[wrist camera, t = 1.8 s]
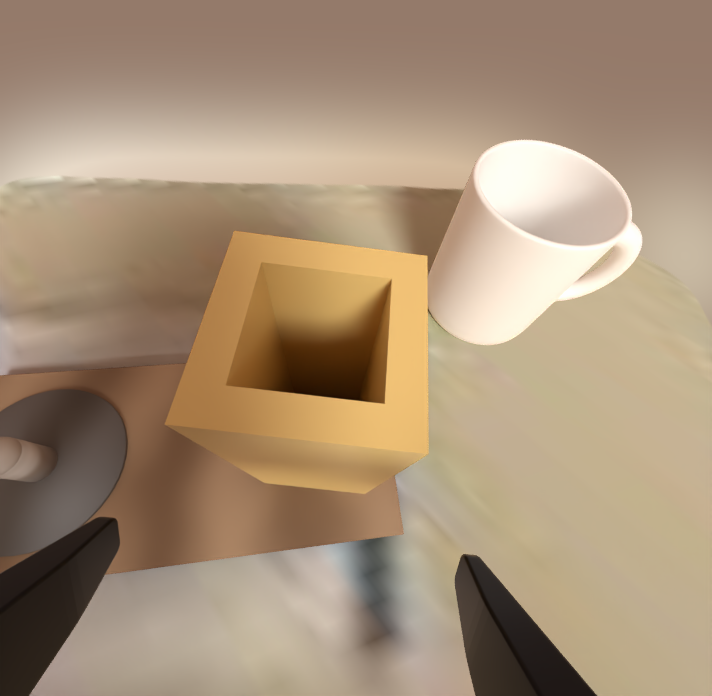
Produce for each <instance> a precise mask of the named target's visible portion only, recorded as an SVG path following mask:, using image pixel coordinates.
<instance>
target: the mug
mask: <svg viewBox="0 0 712 696" xmlns="http://www.w3.org/2000/svg"><path fill="white" fill-rule="evenodd" d="M631 219H632V209H631V204H630V201H629V198H628V196H627V194H626V193H625V191H624V189H623V188H622V186H621V185H620V184H619V183H618V181H617V180H616V179H615V178H614V177H613V176H612V175H611V174H610V173H609V172H608V171H607V170H605V169H604V168H603V167H602V166H600V165H599V164H597V163H596V162H594V161H593V160H591V159H589V158H588V157H586V156H584V155H582V154H580V153H578V152H576V151H574V150H571V149H569V148H566V147H563V146H560V145H557V144H553V143H549V142H544V141H537V140H512V141H506V142H502V143H499V144H496V145H494V146H492V147H490V148H489V149H487V150H486V151H485V152H484V153H483V154H482V155H481V156H480V157H479V158H478V159H477V161H476V163H475V165H474V167H473V170H472V173H471V175H470V177H469V180H468V182H467V184H466V186H465V189H464V191H463V194H462V196H461V198H460V201H459V203H458V205H457V208H456V210H455V213H454V215H453V217H452V220H451V222H450V224H449V227H448V229H447V231H446V234H445V236H444V239H443V241H442V243H441V246H440V248H439V250H438V253H437V255H436V258H435V260H434V262H433V265H432V267H431V269H430V272H429V274H428V308H429V311H430V313H431V314H432V316H433V318H434V319H435V320H436V322H437V323H438V324H439V325H440V326H441V327H442V328H443V329H445V330H446V331H447V332H448V333H450V334H451V335H453V336H455V337H457V338H458V339H461V340H463V341H466V342H469V343H473V344H478V345H495V344H500V343H503V342H506V341H508V340H510V339H512V338H514V337H516V336H517V335H518V334H520V333H521V332H522V331H524V330H525V329H526V328H527V327H528V326H529V325H530V324H531V323H532V322H533V321H534V320H535V319H537V318H538V317H539V316H540V315H541V314H542V313H543V312H544V311H545V310H546V309H547V308H548V307H549V306H550V305H551V304H552V303H553V302H554V301H563V300H569V299H573V298H577V297H581V296H583V295H586V294H589V293H591V292H593V291H596V290H598V289H599V288H601V287H603V286H605V285H607V284H608V283H610V282H611V281H613V280H614V279H616V278H617V277H618V276H620V275H621V274H622V273H623V272H624V271H626V270H627V269H628V268H629V267H630V265H631V264H632V263H633V262H634V261H635V259H636V258H637V256H638V254H639V252H640V249H641V247H642V235H641V232H640V230H639V229H638V227H637V226H636V225H635V224H634V223H633V222H631ZM612 246H613V251H612V252H611V254H610V255H609V256H608V258H607V259H606V260H605V261H604V262H603V263H602V264H601V265H599V266H598V267H597V268H595V269H594V270H592V271H591V272H589V273H587V274H586V275H584V276H582V275H583V274H584V273H585V272H586V271H587V270H588V269H589V268H590V267H591V266H592V265H593V264H595V263H596V262H597V261H598V260H599V259H600V258H601V257H602V256H603V255H604V254H605V253H606V252H607V251H608V250H609V249H610V248H611V247H612Z"/></svg>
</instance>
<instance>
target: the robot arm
mask: <svg viewBox="0 0 712 696" xmlns="http://www.w3.org/2000/svg"><path fill="white" fill-rule="evenodd" d="M119 546H120V536H119V527H118V521H117V519H116V518H112V517H97V518H95V519H93V520H92V521H90V522H88V523H86V524H85V525H83V526H81V527H79V528H78V529H76V530H74V531H72V532H71V533H69V534H67V535H66V536H64V537H62V538H60V539H59V540H57V541H55V542H53V543H52V544H50V545H48V546H46V547H45V548H43V549H41V550H40V551H38V552H36V553H34V554H33V555H31V556H29V557H27V558H26V559H24V560H22V561H20V562H19V563H17V564H15V565H14V566H12V567H10V568H8V569H7V570H5V571H3V572H1V573H0V696H29V695H30V693H31V692H32V690H33V689H34V687H35V686H36V684H37V683H38V681H39V680H40V678H41V677H42V675H43V674H44V672H45V671H46V669H47V668H48V666H49V665H50V663H51V662H52V660H53V659H54V657H55V656H56V654H57V653H58V651H59V650H60V648H61V647H62V645H63V644H64V642H65V641H66V639H67V638H68V636H69V635H70V633H71V632H72V630H73V629H74V627H75V626H76V624H77V623H78V621H79V619H80V618H81V616H82V614H83V613H84V611H85V609H86V608H87V606H88V604H89V602H90V600H91V599H92V597H93V595H94V593H95V591H96V590H97V588H98V586H99V584H100V582H101V581H102V579H103V577H104V575H105V573H106V572H107V570H108V568H109V566H110V565H111V563H112V561H113V559H114V557H115V556H116V554H117V552H118V549H119ZM455 589H456V595H457V602H458V608H459V615H460V621H461V628H462V634H463V640H464V647H465V652H466V658H467V662H468V667H469V671H470V675H471V679H472V683H473V687H474V691H475V695H476V696H597V695H596V694H595V693H594V691H593V690H592V689H591V688H590V687H589V686H588V684H587V683H586V682H585V681H584V680H583V678H582V677H581V676H580V675H579V674H578V673H577V671H576V670H575V669H574V668H573V667H572V666H571V664H570V663H569V662H568V661H567V660H566V658H565V657H564V656H563V655H562V654H561V653H560V651H559V650H558V649H557V648H556V647H555V645H554V644H553V643H552V642H551V641H550V640H549V638H548V637H547V636H546V635H545V634H544V633H543V631H542V630H541V629H540V628H539V627H538V625H537V624H536V623H535V622H534V621H533V620H532V618H531V617H530V616H529V615H528V614H527V612H526V611H525V610H524V609H523V608H522V607H521V605H520V604H519V603H518V602H517V601H516V600H515V598H514V597H513V596H512V595H511V594H510V592H509V591H508V590H507V589H506V588H505V587H504V585H503V584H502V583H501V582H500V581H499V579H498V578H497V577H496V576H495V575H494V574H493V572H492V571H491V570H490V569H489V568H488V567H487V565H486V564H485V563H484V562H483V561H482V559H481V558H480V557H478V556H476V555H468V554H463V555H462V556H461V558H460V562H459V565H458V568H457V572H456V575H455Z"/></svg>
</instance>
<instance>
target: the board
mask: <svg viewBox="0 0 712 696" xmlns="http://www.w3.org/2000/svg"><path fill="white" fill-rule="evenodd" d="M185 366H186V363H183V364H168V365H152V366H137V367H122V368H107V369H92V370H77V371H62V372H46V373H31V374H16V375H1V376H0V573H1V572H3V571H5V570H7V569H8V568H10V567H12V566H14V565H15V564H17V563H19V562H20V561H22V560H24V559H26V558H27V557H29V556H31V555H33V554H34V553H36V552H38V551H40V550H41V549H43V548H45V547H46V546H48V545H50V544H52V543H53V542H55V541H57V540H59V539H60V538H62V537H64V536H66V535H67V534H69V533H71V532H72V531H74V530H76V529H78V528H79V527H81V526H83V525H85V524H86V523H88V522H90V521H92V520H93V519H95V518H97V517H112V518H116V519H117V521H118V527H119V536H120V546H119V549H118V552H117V554H116V556H115V557H114V559H113V561H112V563H111V565H110V566H109V568H108V570H107V572H106V573H105V575H106V574H114V573H121V572H128V571H136V570H143V569H151V568H158V567H165V566H173V565H180V564H187V563H195V562H202V561H209V560H217V559H224V558H232V557H239V556H246V555H254V554H261V553H268V552H276V551H283V550H291V549H298V548H305V547H313V546H320V545H327V544H335V543H342V542H349V541H357V540H364V539H372V538H379V537H386V536H394V535H401V534H404V533H403V526H402V520H401V513H400V507H399V500H398V494H397V487H396V481H395V475H394V476H393V477H391V478H390V479H388V480H386V481H385V482H383V483H382V484H380V485H378V486H377V487H375V488H374V489H372V490H371V491H369V492H367V493H366V494H360V493H350V492H341V491H332V490H323V489H314V488H304V487H295V486H286V485H277V484H268V483H263V482H262V481H260V480H258V479H257V478H255V477H253V476H251V475H250V474H248V473H246V472H245V471H243V470H241V469H240V468H238V467H236V466H234V465H233V464H231V463H229V462H228V461H226V460H224V459H223V458H221V457H219V456H217V455H216V454H214V453H212V452H211V451H209V450H207V449H206V448H204V447H202V446H200V445H199V444H197V443H195V442H194V441H192V440H190V439H189V438H187V437H185V436H183V435H182V434H180V433H178V432H177V431H175V430H173V429H172V428H170V427H168V426H166V425H165V422H166V419H167V416H168V413H169V411H170V408H171V405H172V402H173V400H174V397H175V394H176V391H177V388H178V386H179V383H180V380H181V377H182V374H183V372H184V369H185Z"/></svg>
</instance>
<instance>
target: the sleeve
mask: <svg viewBox="0 0 712 696" xmlns="http://www.w3.org/2000/svg"><path fill="white" fill-rule="evenodd" d="M165 425H166V426H168V427H170V428H172V429H173V430H175V431H177V432H178V433H180V434H182V435H183V436H185V437H187V438H189V439H190V440H192V441H194V442H195V443H197V444H199V445H200V446H202V447H204V448H206V449H207V450H209V451H211V452H212V453H214V454H216V455H217V456H219V457H221V458H223V459H224V460H226V461H228V462H229V463H231V464H233V465H234V466H236V467H238V468H240V469H241V470H243V471H245V472H246V473H248V474H250V475H251V476H253V477H255V478H257V479H258V480H260V481H262V482H263V483H268V484H277V485H286V486H295V487H304V488H314V489H323V490H332V491H341V492H350V493H360V494H366V493H367V492H369V491H371V490H372V489H374V488H375V487H377V486H378V485H380V484H382V483H383V482H385V481H386V480H388V479H390V478H391V477H393V476H394V475H396V474H398V473H399V472H401V471H402V470H404V469H406V468H407V467H409V466H410V465H412V464H414V463H415V462H417V461H418V460H420V459H422V458H423V457H425V456H426V455H428V270H427V256H424V255H416V254H409V253H401V252H393V251H386V250H378V249H370V248H363V247H355V246H347V245H340V244H332V243H324V242H317V241H309V240H301V239H294V238H286V237H278V236H271V235H263V234H255V233H248V232H240V231H234V233H233V235H232V238H231V241H230V244H229V246H228V249H227V252H226V255H225V258H224V260H223V263H222V266H221V269H220V272H219V274H218V277H217V280H216V283H215V285H214V288H213V291H212V294H211V297H210V299H209V302H208V305H207V308H206V310H205V313H204V316H203V319H202V322H201V324H200V327H199V330H198V333H197V336H196V338H195V341H194V344H193V347H192V349H191V352H190V355H189V358H188V361H187V363H186V366H185V369H184V372H183V374H182V377H181V380H180V383H179V386H178V388H177V391H176V394H175V397H174V400H173V402H172V405H171V408H170V411H169V413H168V416H167V419H166V422H165Z"/></svg>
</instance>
